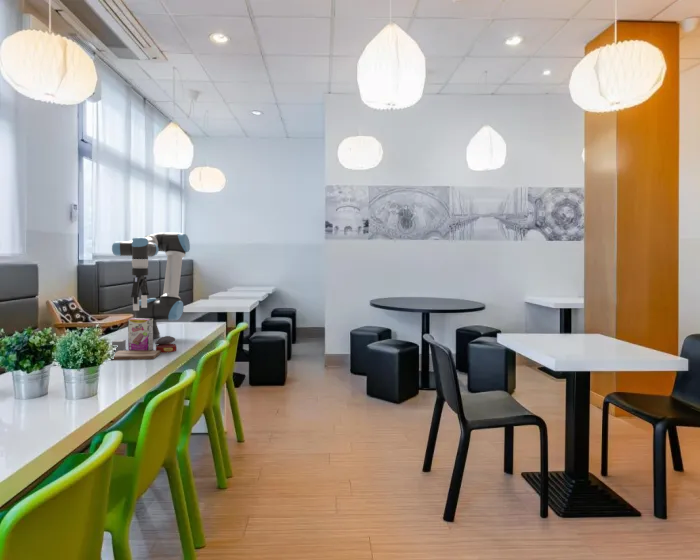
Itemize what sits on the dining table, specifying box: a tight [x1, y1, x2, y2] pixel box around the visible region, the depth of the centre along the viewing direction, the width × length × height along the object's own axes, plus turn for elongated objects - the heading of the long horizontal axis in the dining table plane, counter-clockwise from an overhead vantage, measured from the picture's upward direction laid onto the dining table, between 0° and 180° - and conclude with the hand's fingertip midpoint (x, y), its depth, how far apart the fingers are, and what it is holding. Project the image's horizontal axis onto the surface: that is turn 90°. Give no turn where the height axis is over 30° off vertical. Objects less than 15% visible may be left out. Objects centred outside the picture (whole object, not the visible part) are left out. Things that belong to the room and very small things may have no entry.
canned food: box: [154, 335, 177, 354], centre depth 243 cm, size 11×10×10 cm
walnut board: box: [112, 349, 162, 361], centre depth 229 cm, size 14×20×2 cm
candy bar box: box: [127, 317, 154, 350], centre depth 243 cm, size 11×5×16 cm, turn 84°
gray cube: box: [111, 339, 127, 352], centre depth 243 cm, size 5×5×5 cm
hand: (140, 309), depth 242 cm, fingers open, 13 cm apart
